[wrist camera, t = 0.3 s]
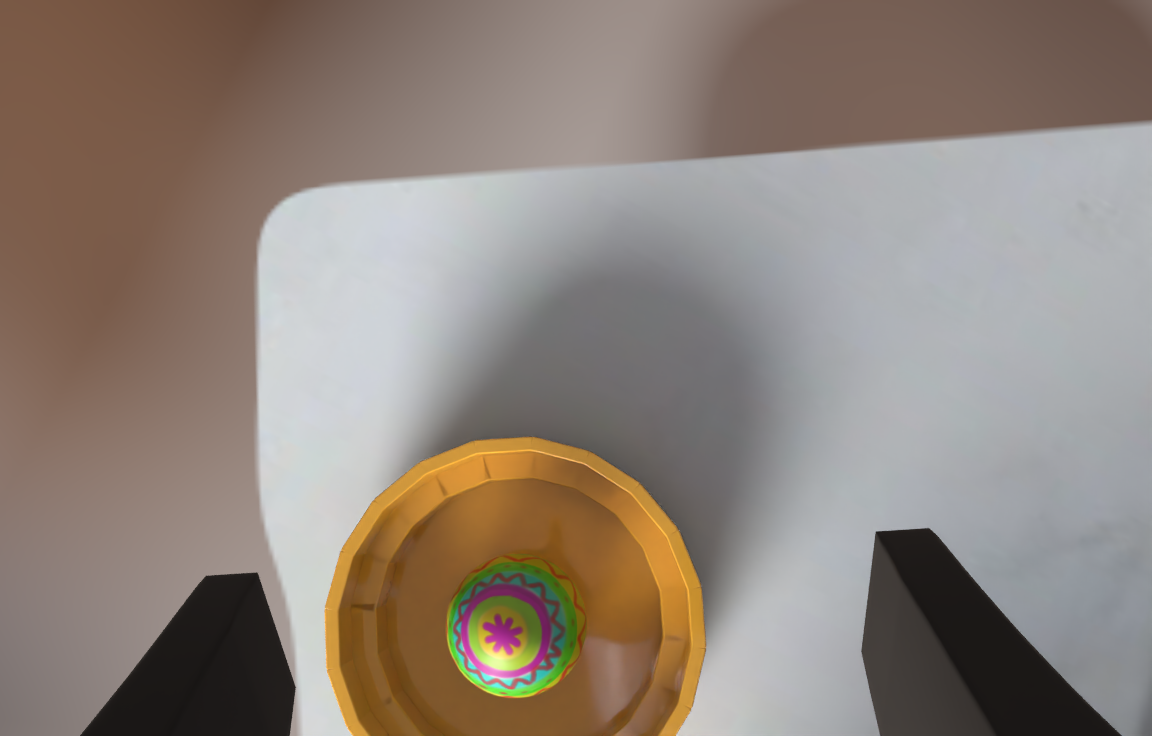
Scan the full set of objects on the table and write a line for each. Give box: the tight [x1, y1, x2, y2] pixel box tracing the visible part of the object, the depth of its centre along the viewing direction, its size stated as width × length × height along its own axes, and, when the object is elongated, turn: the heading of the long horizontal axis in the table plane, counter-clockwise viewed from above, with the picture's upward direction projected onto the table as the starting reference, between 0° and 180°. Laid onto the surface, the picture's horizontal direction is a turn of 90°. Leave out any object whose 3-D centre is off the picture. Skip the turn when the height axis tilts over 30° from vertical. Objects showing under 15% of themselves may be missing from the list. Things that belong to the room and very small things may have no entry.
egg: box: [446, 554, 587, 698], centre depth 37 cm, size 5×5×6 cm
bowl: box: [325, 436, 706, 736], centre depth 39 cm, size 13×13×4 cm
